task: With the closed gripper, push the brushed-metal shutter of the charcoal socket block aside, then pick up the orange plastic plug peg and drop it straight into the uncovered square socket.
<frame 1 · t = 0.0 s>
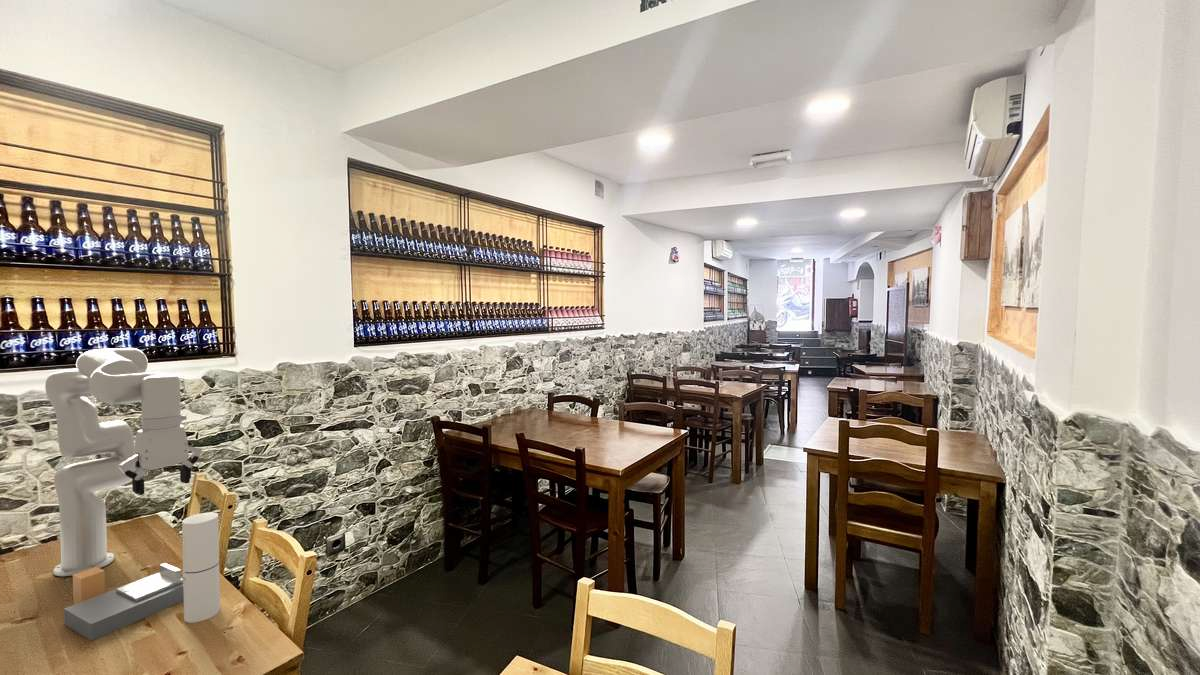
hand: (163, 488, 127), 31 cm above the table, tool pointing down, fingers open, 9 cm apart
socket block: (131, 610, 126), on the table
shutter: (150, 580, 130), point 6 cm above the table, slide at 0.0 cm
plug peg: (89, 602, 129), on the table
cylindrical container: (202, 614, 125), on the table
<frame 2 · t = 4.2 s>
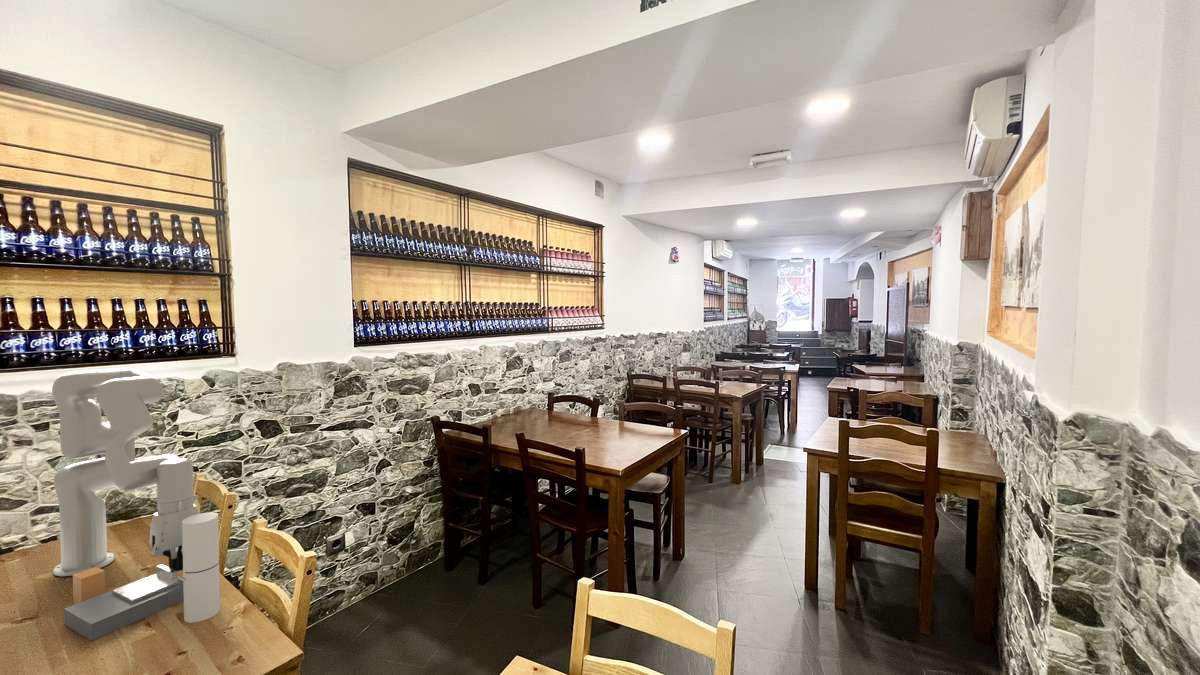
hand: (177, 569, 135), 6 cm above the table, tool pointing down, fingers closed
shutter: (146, 582, 129), point 6 cm above the table, slide at 0.8 cm, touching gripper
everything else where it was.
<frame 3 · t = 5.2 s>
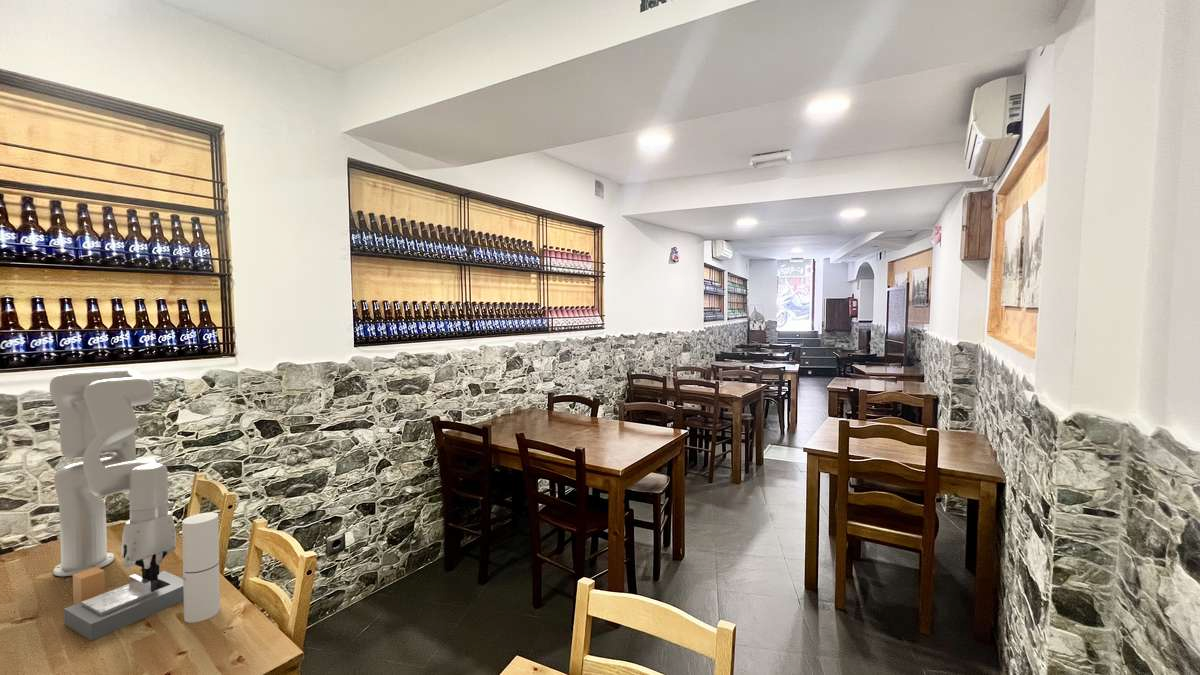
hand: (150, 579, 130), 6 cm above the table, tool pointing down, fingers closed
shutter: (117, 593, 124), point 6 cm above the table, slide at 6.6 cm, touching gripper
everything else where it was.
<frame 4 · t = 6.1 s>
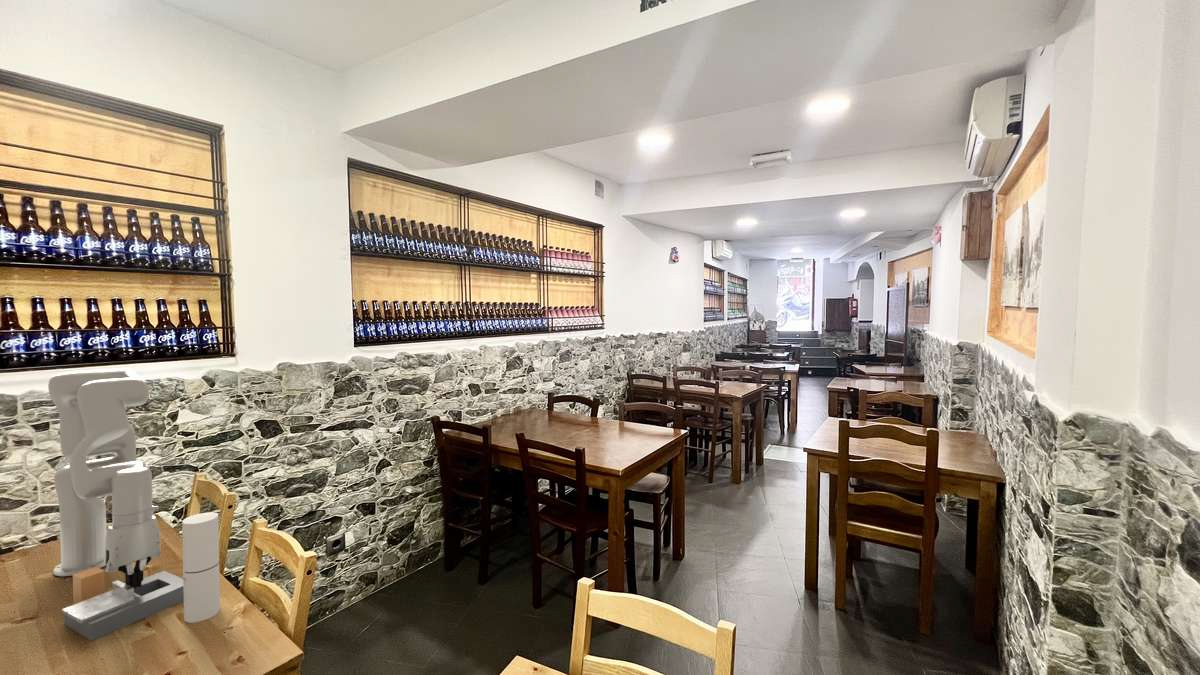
hand: (134, 586, 127), 6 cm above the table, tool pointing down, fingers closed
shutter: (99, 600, 121), point 6 cm above the table, slide at 10.0 cm, touching gripper
everything else where it was.
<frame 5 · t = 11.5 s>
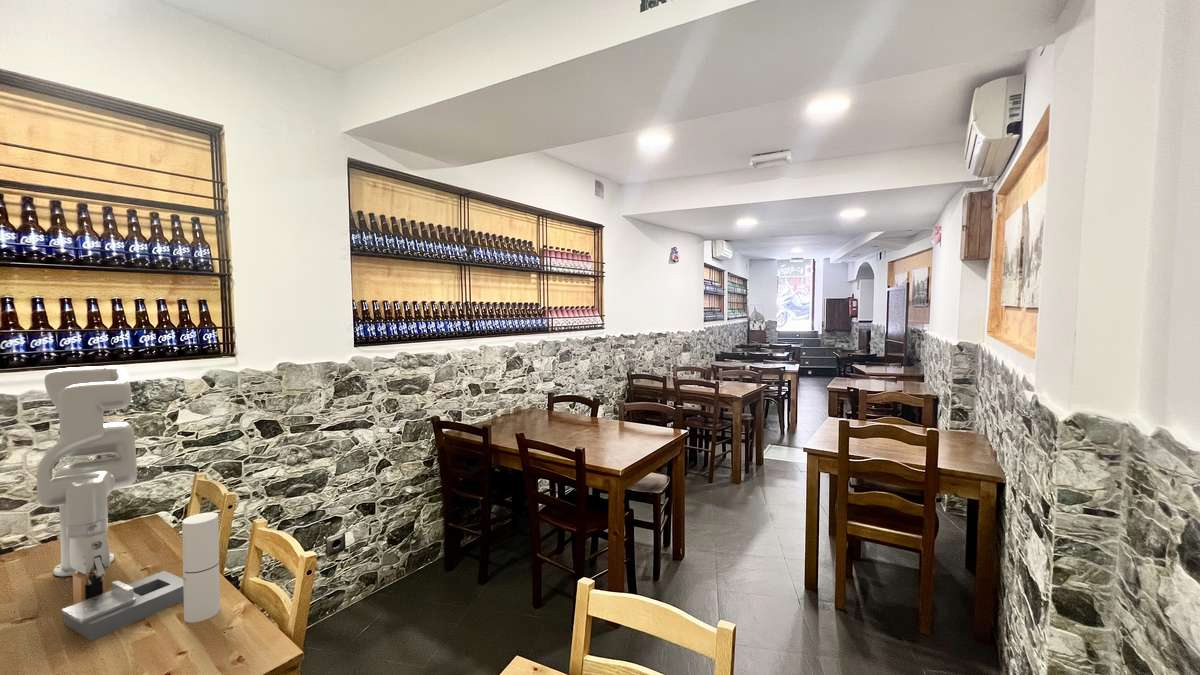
hand: (89, 594, 129), 2 cm above the table, tool pointing down, fingers closed on plug peg, 4 cm apart
shutter: (99, 600, 121), point 6 cm above the table, slide at 10.0 cm
plug peg: (89, 602, 129), on the table, touching gripper
everything else where it was.
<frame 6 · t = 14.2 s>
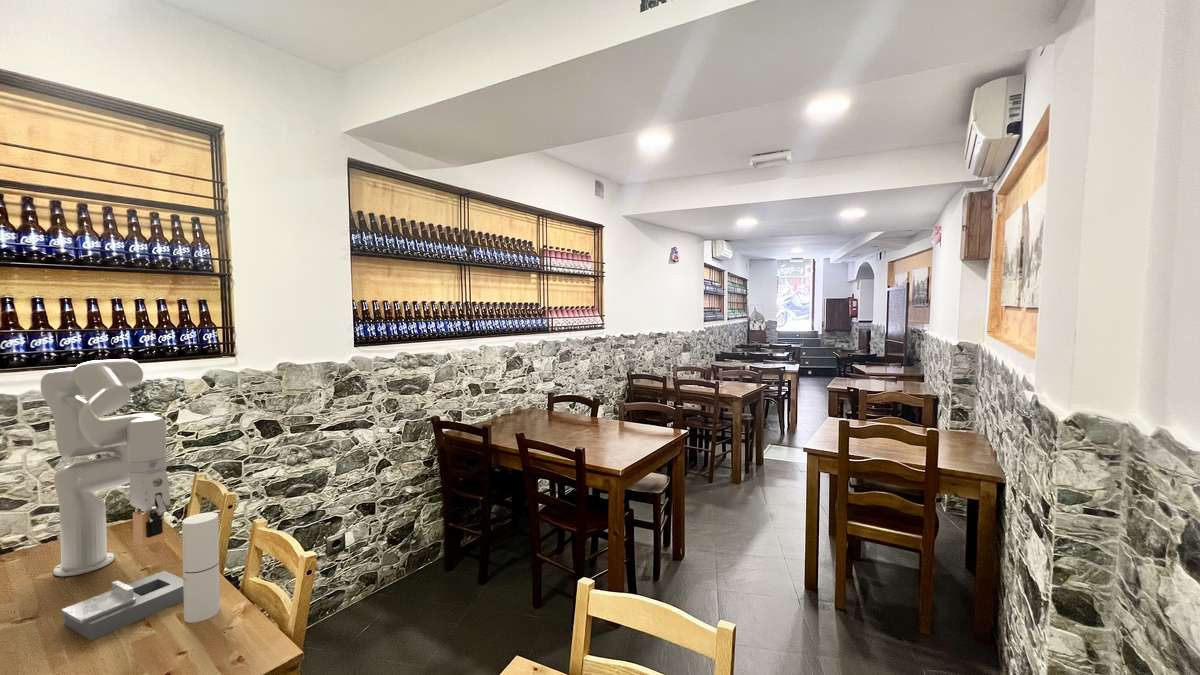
hand: (149, 532, 129), 19 cm above the table, tool pointing down, fingers closed on plug peg, 4 cm apart
plug peg: (149, 540, 129), point 17 cm above the table, touching gripper
everything else where it was.
when the fingers open (5 cm above the table, at t = 17.4 s): plug peg drops 3 cm, resting in socket block.
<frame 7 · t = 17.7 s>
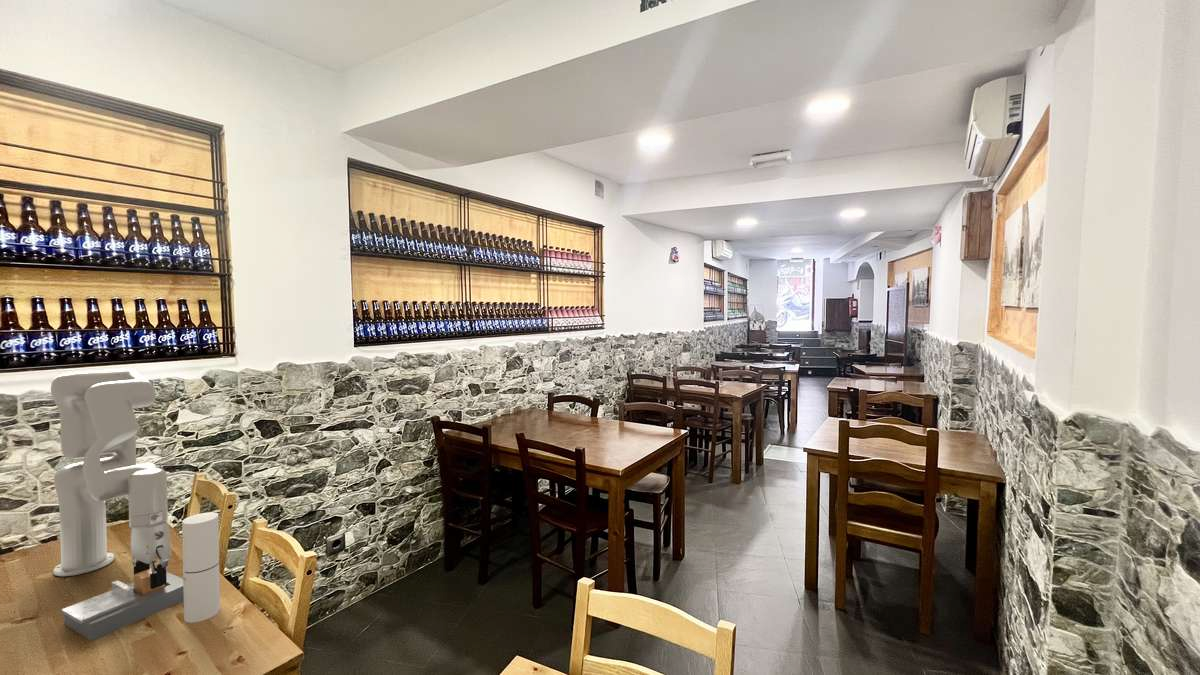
hand: (150, 582, 130), 5 cm above the table, tool pointing down, fingers open, 7 cm apart
plug peg: (150, 602, 130), resting in socket block
everything else where it was.
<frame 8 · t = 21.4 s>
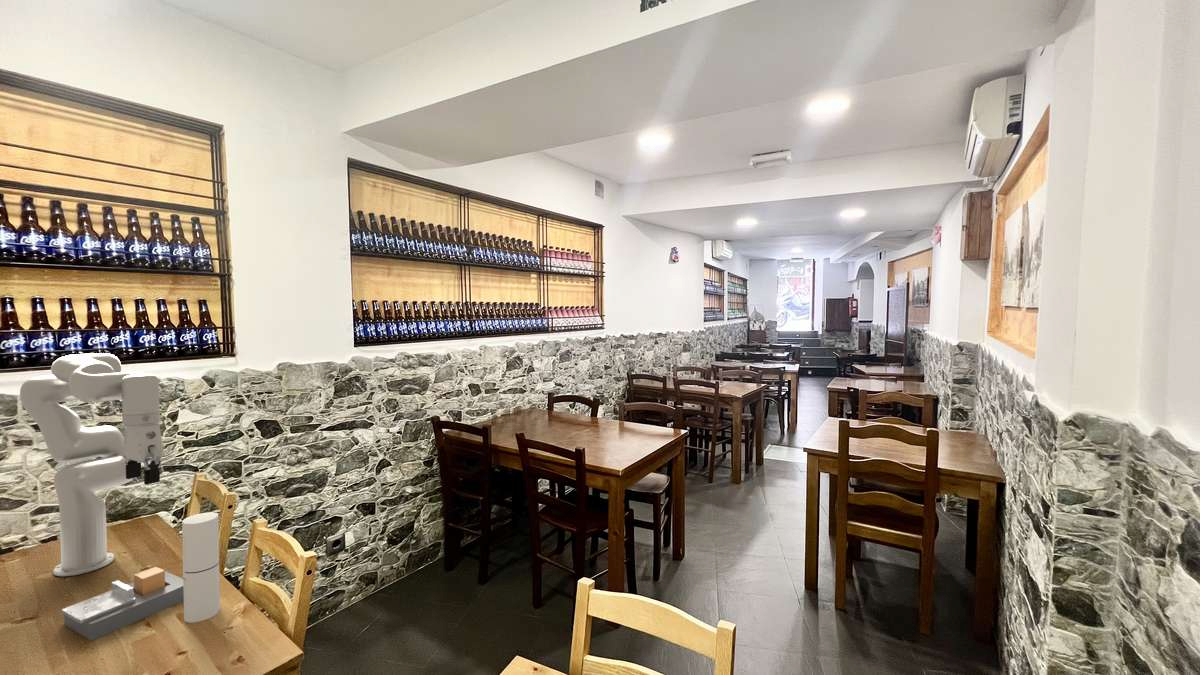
hand: (142, 480, 135), 30 cm above the table, tool pointing down, fingers open, 9 cm apart
nothing on the table moved.
at the end: shutter slide at 10.0 cm; plug peg 0.2 cm from the target spot on the socket block, point 0.0 cm above the socket block's base; plug peg tilted 0° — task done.
